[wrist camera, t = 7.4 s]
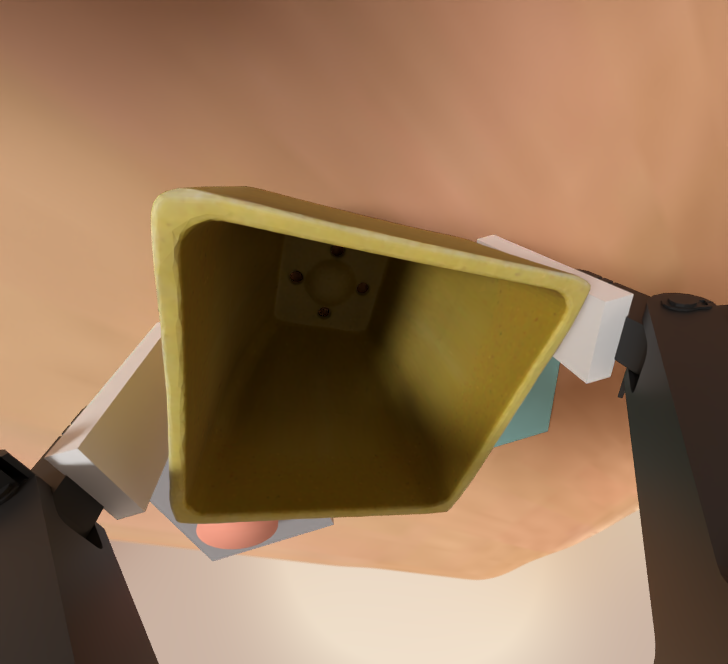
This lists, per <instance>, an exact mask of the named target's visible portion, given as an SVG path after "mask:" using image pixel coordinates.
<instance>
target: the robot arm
mask: <svg viewBox="0 0 728 664" xmlns="http://www.w3.org/2000/svg"><path fill="white" fill-rule="evenodd" d="M477 243H479V244H482V245H484V246H487V247H490V248H493V249H496V250H499V251H502V252H505V253H508V254H511V255H514V256H518V257H521V258H524V259H527V260H530V261H533V262H536V263H539V264H543V265H546V266H549V267H552V268H555V269H558V270H561V271H565V272H568V273H571V274H574V275H577V276H579V277H581V278H583V279H584V280H586V281H588V283H589V284H590V285H591V288H590V291H589V294H588V296H587V298H586V300H585V302H584V304H583V306H582V308H581V310H580V312H579V314H578V316H577V318H576V320H575V321H574V323H573V325H572V327H571V328H570V330H569V332H568V333H567V335H566V336H565V338H564V340H563V341H562V343H561V345H560V346H559V348H558V349H557V351H556V352H555V354H554V355H553V357H554V358H555V359H556V360H558V361H559V362H560V363H561V364H563V365H564V366H565V367H566V368H568V369H569V370H570V371H571V372H573V373H574V374H575V375H576V376H577V377H579V378H580V379H581V380H582V381H584V382H585V383H586V384H588V383H591V382H595V381H598V380H601V379H605V378H608V377H611V373H612V370H613V366H614V363H615V360H616V361H618V362H619V363H621V364H622V365H624V366H625V367H627V368H626V371H625V375H624V378H623V381H622V384H621V388H620V391H619V394H618V397H619V398H623V395H624V393H625V394H626V402H627V410H628V419H629V427H630V435H631V443H632V451H633V460H634V468H635V476H636V484H637V493H638V501H639V509H640V516H641V526H642V534H643V542H644V550H645V558H646V567H647V575H648V583H649V591H650V600H651V607H652V616H653V623H654V632H655V659H654V664H728V305H719V306H717V305H716V304H714V303H713V302H712V301H709V300H707V299H705V298H702V297H698V296H694V295H690V294H681V293H663V294H658V295H654V296H652V297H650V296H647V295H645V294H642V293H640V292H638V291H635V290H633V289H630V288H628V287H625V286H623V285H621V284H618V283H613V281H611V280H608V279H606V278H602V277H601V276H599V275H596V274H594V273H592V272H589V271H584V270H579V269H574V268H571V267H569V266H566V265H564V264H562V263H559V262H557V261H555V260H552V259H550V258H548V257H545V256H543V255H541V254H538V253H536V252H534V251H531V250H529V249H526V248H524V247H522V246H519V245H517V244H515V243H512V242H510V241H508V240H505V239H503V238H501V237H498V236H496V235H490V236H486V237H482V238H479V239H477ZM165 383H166V380H165V372H164V362H163V353H162V341H161V325H160V322H157V323H156V324H155V325H154V327H153V328H152V329H151V330H150V331H149V333H148V334H147V335H146V336H145V337H144V339H143V340H142V341H141V342H140V343H139V345H138V346H137V347H136V348H135V349H134V350H133V352H132V353H131V354H130V355H129V356H128V358H127V359H126V360H125V361H124V362H123V364H122V365H121V366H120V367H119V368H118V370H117V371H116V372H115V373H114V374H113V376H112V377H111V378H110V379H109V380H108V382H107V383H106V384H105V385H104V386H103V387H102V389H101V390H100V391H99V392H98V393H97V395H96V396H95V397H94V398H93V399H92V401H91V402H90V403H89V404H88V405H87V406H86V407H85V408H84V409H82V410H81V411H80V413H79V414H78V415H77V416H76V417H75V419H74V420H73V421H72V422H71V425H69V426H68V427H67V428H66V429H65V430H64V432H63V433H62V436H60V437H58V439H57V440H56V441H55V442H54V443H53V445H52V446H51V447H50V448H49V449H48V450H47V452H46V453H45V454H44V455H43V456H42V458H41V459H40V460H39V461H38V462H37V463H36V465H35V466H34V467H33V468H32V469H31V470H30V469H28V468H27V467H26V466H25V465H23V464H22V463H21V462H20V461H18V460H17V459H16V458H15V457H13V456H12V455H11V454H9V453H8V452H7V451H6V450H0V664H159V663H158V661H157V658H156V656H155V654H154V651H153V649H152V646H151V643H150V641H149V639H148V636H147V634H146V631H145V629H144V626H143V624H142V621H141V619H140V616H139V614H138V611H137V609H136V606H135V604H134V602H133V599H132V596H131V594H130V591H129V589H128V586H127V584H126V581H125V579H124V576H123V574H122V571H121V569H120V567H119V564H118V562H117V559H116V557H115V554H114V552H113V549H112V547H111V544H110V542H109V539H108V537H107V534H106V532H105V529H104V528H103V527H101V526H100V525H99V524H98V523H97V522H96V521H97V519H98V517H99V515H100V513H101V511H102V510H103V508H104V509H105V510H106V511H107V512H108V513H110V514H111V515H112V516H113V517H114V518H116V519H117V520H119V519H122V518H125V517H129V516H132V515H136V514H139V513H143V512H145V511H146V508H147V506H148V504H149V501H150V499H151V497H152V494H153V492H154V490H155V487H156V485H157V483H158V480H159V478H160V476H161V473H162V471H163V469H164V466H165V464H166V462H167V460H168V457H169V447H168V413H167V393H166V384H165Z"/></svg>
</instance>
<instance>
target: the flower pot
mask: <svg viewBox="0 0 728 664" xmlns="http://www.w3.org/2000/svg"><path fill="white" fill-rule="evenodd" d="M151 238H152V250H153V263H154V274H155V283H156V290H157V301H158V311H159V317H160V325H161V341H162V353H163V362H164V372H165V380H166V383H165V384H166V393H167V413H168V447H169V480H170V486H169V487H170V490H169V501H170V507H171V510H172V512H173V515H174V517H175V519H176V521H177V522H179V523H186V524H219V523H236V522H254V521H274V520H290V519H317V518H335V517H363V516H383V515H408V514H429V513H438V512H447V511H448V510H449V509H450V508H451V507H452V506H453V505H454V504H455V502H456V501H457V500H458V499H459V498H460V496H461V495H462V494H463V492H464V491H465V490H466V488H467V487H468V485H469V484H470V483H471V481H472V480H473V478H474V477H475V475H476V474H477V472H478V471H479V469H480V468H481V466H482V465H483V463H484V462H485V460H486V458H487V457H488V455H489V454H490V452H491V451H492V449H493V447H494V446H495V444H496V443H497V441H498V440H499V438H500V437H501V435H502V434H503V433H504V431H505V429H506V427H507V426H508V424H509V423H510V421H511V420H512V418H513V416H514V415H515V413H516V412H517V410H518V409H519V407H520V405H521V404H522V402H523V401H524V399H525V398H526V396H527V395H528V393H529V392H530V390H531V389H532V387H533V386H534V384H535V382H536V381H537V379H538V377H539V376H540V374H541V373H542V371H543V370H544V368H545V367H546V365H547V364H548V362H549V361H550V359H551V358H552V357H553V355H554V354H555V352H556V351H557V349H558V348H559V346H560V345H561V343H562V341H563V340H564V338H565V336H566V335H567V333H568V332H569V330H570V328H571V327H572V325H573V323H574V321H575V320H576V318H577V316H578V314H579V312H580V310H581V308H582V306H583V304H584V302H585V300H586V298H587V296H588V294H589V291H590V288H591V285H590V284H589V283H588V281H586V280H584V279H583V278H581V277H579V276H577V275H574V274H571V273H568V272H565V271H561V270H558V269H555V268H552V267H549V266H546V265H543V264H539V263H536V262H533V261H530V260H527V259H524V258H521V257H518V256H514V255H511V254H508V253H505V252H502V251H499V250H496V249H493V248H490V247H487V246H484V245H482V244H479V243H476V242H473V241H470V240H467V239H464V238H460V237H455V236H451V235H446V234H441V233H437V232H432V231H427V230H423V229H418V228H414V227H409V226H405V225H401V224H396V223H392V222H388V221H384V220H380V219H376V218H372V217H367V216H363V215H359V214H355V213H351V212H347V211H343V210H340V209H336V208H332V207H328V206H324V205H320V204H316V203H312V202H308V201H304V200H300V199H296V198H292V197H289V196H285V195H281V194H277V193H274V192H270V191H266V190H262V189H258V188H253V187H247V186H229V187H191V188H177V189H173V190H169V191H165V192H164V193H162V194H160V195H159V196H158V197H157V198H156V200H155V201H154V203H153V206H152V211H151ZM333 245H337V246H341V247H343V249H344V251H343V253H342V254H341V255H340V256H335V255H333V254H332V252H331V248H332V246H333ZM294 271H299V272H300V273H302V276H303V278H302V280H301V281H300V282H294V281H293V280H291V277H290V275H291V273H292V272H294ZM360 283H366V284H367V285H368V290H367V291H366V292H365V293H359V292H358V291H357V286H358V285H359V284H360ZM323 307H326V308H328V309H329V311H330V313H329V314H328V315H327V316H325V317H323V316H320V315H319V313H318V311H319V309H321V308H323Z"/></svg>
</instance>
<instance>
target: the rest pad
mask: <svg viewBox="0 0 728 664" xmlns="http://www.w3.org/2000/svg"><path fill="white" fill-rule="evenodd" d="M559 365H560V362H559V361H558V360H556V359H555V358H554V357H552V358H551V359H550V361H549V362H548V364H547V365H546V367H545V368H544V370H543V371H542V373H541V374H540V376H539V377H538V379H537V381H536V382H535V384H534V386H533V387H532V389H531V390H530V392H529V393H528V395H527V396H526V398H525V399H524V401H523V402H522V404H521V405H520V407H519V409H518V410H517V412H516V413H515V415H514V416H513V418H512V420H511V421H510V423H509V424H508V426H507V427H506V429H505V431H504V433H503V434H502V435H501V437H500V438H499V440H498V441H497V443H496V444H495V446H494V447H497V446H500V445H503V444H507V443H510V442H513V441H517V440H520V439H523V438H527V437H530V436H533V435H537V434H540V433H543V432H547V431H548V427H549V422H550V416H551V410H552V405H553V399H554V393H555V388H556V382H557V376H558V371H559Z"/></svg>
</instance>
